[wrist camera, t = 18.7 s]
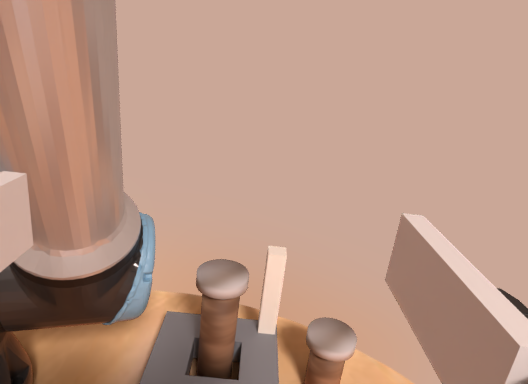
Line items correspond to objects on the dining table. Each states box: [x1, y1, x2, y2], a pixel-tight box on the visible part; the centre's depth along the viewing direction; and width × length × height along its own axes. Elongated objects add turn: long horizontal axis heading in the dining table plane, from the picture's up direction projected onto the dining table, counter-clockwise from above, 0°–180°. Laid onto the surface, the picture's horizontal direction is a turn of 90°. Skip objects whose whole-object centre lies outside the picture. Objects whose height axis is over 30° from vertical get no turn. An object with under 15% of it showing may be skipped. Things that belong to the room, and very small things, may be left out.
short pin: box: [304, 318, 357, 384], centre depth 48 cm, size 6×6×9 cm
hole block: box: [139, 246, 287, 384], centre depth 47 cm, size 16×16×16 cm
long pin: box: [196, 259, 249, 379], centre depth 47 cm, size 6×6×16 cm
